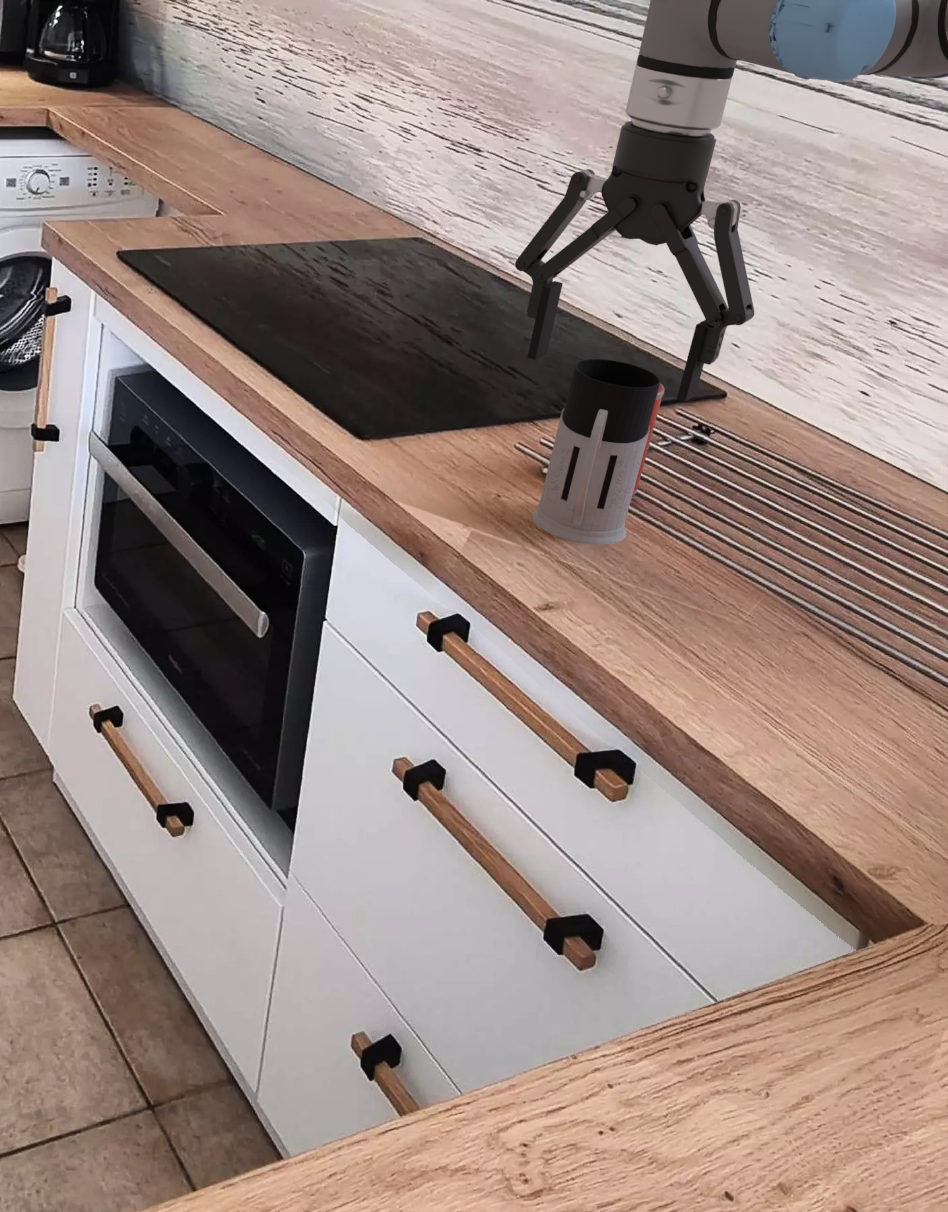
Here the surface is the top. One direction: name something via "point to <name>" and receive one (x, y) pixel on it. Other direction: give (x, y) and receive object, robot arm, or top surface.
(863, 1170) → the top surface
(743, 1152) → the top surface
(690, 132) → the robot arm
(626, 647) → the top surface
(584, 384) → the glass holder
